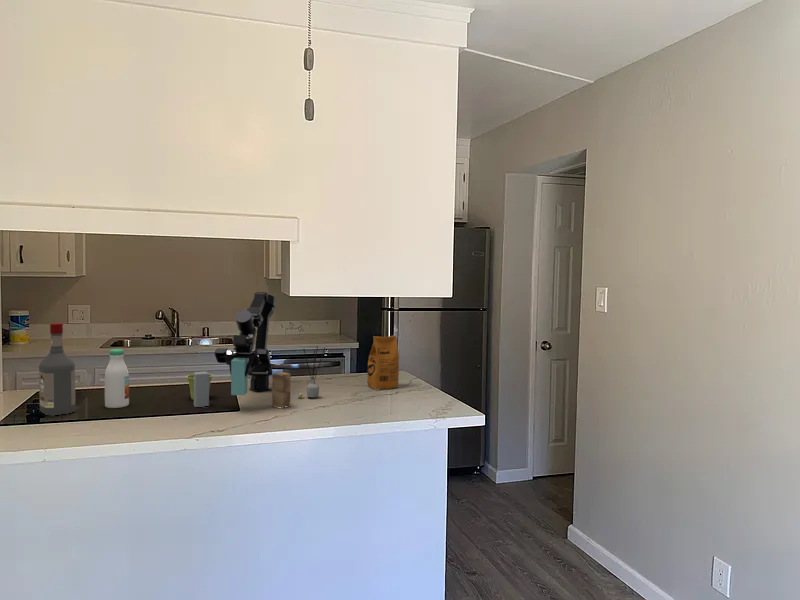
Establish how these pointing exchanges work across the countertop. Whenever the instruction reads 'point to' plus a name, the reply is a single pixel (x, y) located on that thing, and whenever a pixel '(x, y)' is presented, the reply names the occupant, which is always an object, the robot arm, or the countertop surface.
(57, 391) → the liquor
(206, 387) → the slate block
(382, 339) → the coffee package
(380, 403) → the countertop surface
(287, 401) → the walnut block
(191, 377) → the plant pot
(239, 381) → the teal block
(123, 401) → the milk bottle
